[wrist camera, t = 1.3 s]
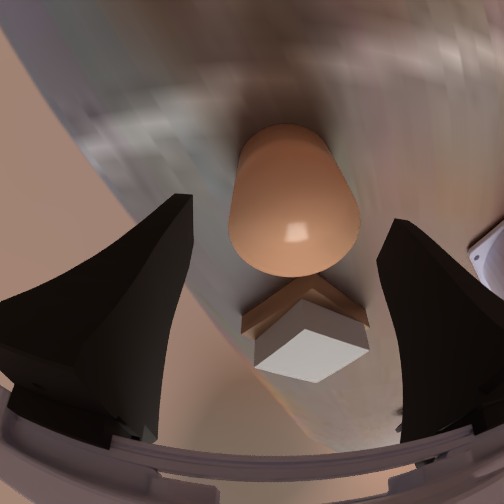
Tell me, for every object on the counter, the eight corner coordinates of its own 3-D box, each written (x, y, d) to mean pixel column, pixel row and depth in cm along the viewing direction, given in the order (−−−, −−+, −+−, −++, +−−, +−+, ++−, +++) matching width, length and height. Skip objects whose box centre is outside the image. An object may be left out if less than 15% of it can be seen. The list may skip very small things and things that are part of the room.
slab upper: (363, 323, 19) (369, 350, 18) (314, 358, 22) (316, 382, 21) (301, 298, 18) (304, 328, 16) (254, 340, 21) (254, 367, 19)
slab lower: (363, 304, 21) (369, 327, 20) (301, 341, 25) (303, 363, 23) (308, 262, 19) (312, 288, 17) (242, 309, 22) (240, 334, 20)
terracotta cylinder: (350, 167, 14) (383, 227, 10) (286, 223, 16) (293, 293, 12) (283, 103, 12) (295, 139, 8) (218, 172, 14) (202, 234, 10)
